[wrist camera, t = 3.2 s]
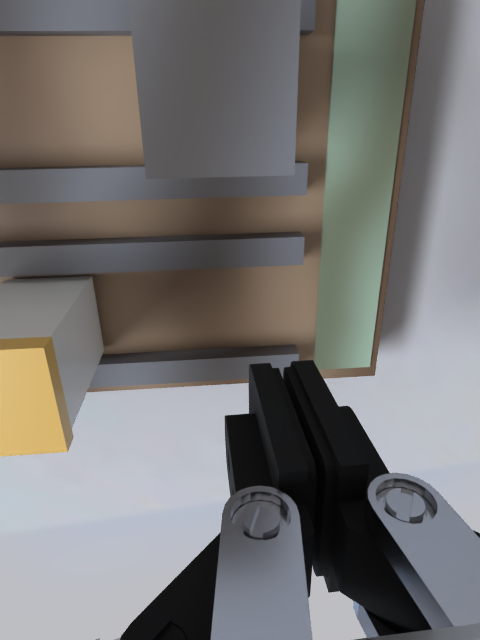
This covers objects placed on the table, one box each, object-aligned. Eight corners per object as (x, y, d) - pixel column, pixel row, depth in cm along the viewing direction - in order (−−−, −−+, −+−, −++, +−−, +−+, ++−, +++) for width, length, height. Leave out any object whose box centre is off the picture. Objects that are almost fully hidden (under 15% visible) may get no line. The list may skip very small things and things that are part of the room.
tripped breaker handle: (94, 273, 16) (43, 347, 11) (107, 352, 17) (67, 451, 12) (1, 276, 15) (-97, 354, 10) (21, 356, 17) (-56, 460, 12)
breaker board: (400, -16, 15) (579, -134, 8) (359, 352, 20) (439, 471, 14) (-425, -20, 13) (-1135, -177, 6) (-212, 383, 19) (-450, 537, 12)
